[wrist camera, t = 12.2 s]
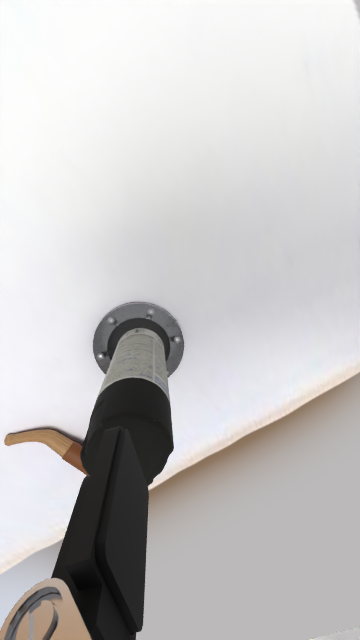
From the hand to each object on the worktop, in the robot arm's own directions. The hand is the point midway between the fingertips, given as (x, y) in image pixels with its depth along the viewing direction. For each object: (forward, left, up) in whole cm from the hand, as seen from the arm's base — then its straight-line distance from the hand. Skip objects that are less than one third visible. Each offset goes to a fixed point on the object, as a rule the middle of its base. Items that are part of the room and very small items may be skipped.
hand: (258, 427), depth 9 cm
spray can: (+7, +7, -27) cm, 29 cm away
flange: (+7, +7, -29) cm, 30 cm away
